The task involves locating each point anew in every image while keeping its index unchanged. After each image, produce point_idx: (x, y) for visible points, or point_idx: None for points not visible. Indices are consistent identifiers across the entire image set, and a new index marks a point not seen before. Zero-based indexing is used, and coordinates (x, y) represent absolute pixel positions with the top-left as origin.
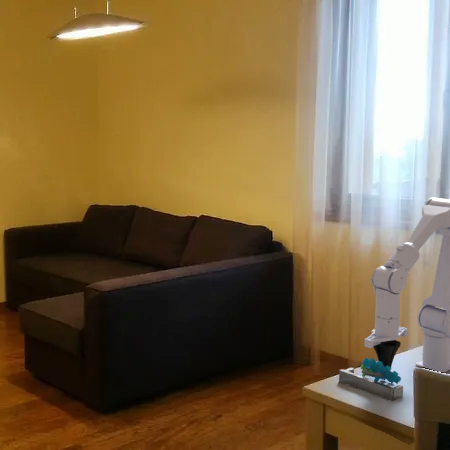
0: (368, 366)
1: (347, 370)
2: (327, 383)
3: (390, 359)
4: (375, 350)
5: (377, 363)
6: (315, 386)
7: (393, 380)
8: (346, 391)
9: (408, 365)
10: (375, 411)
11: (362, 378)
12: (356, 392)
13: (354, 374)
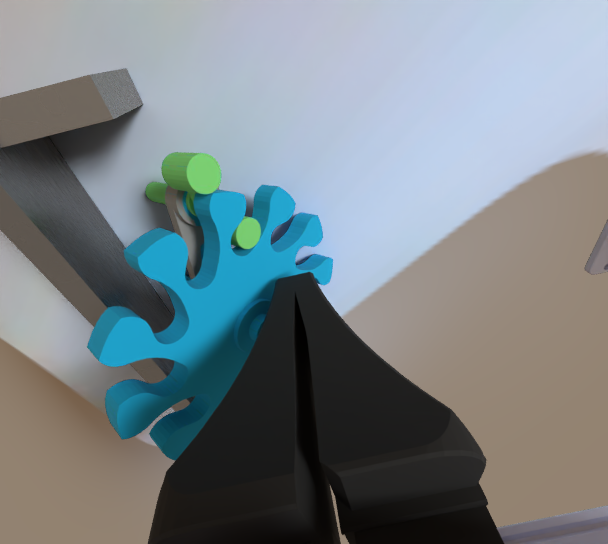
0: (210, 231)
1: (26, 126)
2: None
3: (313, 392)
4: (224, 403)
5: (155, 442)
6: None
7: None
8: (19, 255)
9: None
10: (100, 406)
11: (91, 323)
12: None
13: (50, 263)
